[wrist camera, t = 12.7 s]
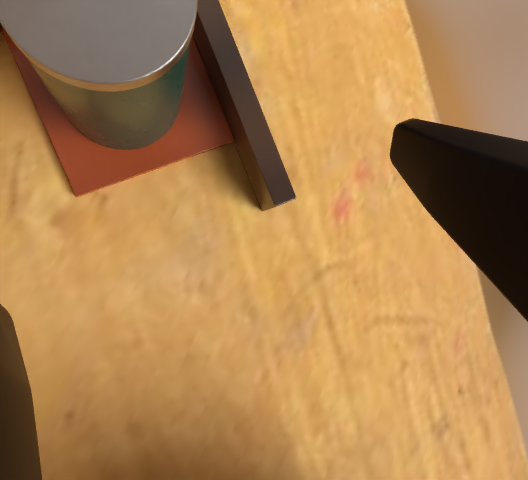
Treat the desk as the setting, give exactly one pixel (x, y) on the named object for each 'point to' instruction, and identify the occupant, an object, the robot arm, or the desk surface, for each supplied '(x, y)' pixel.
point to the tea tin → (108, 61)
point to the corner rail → (177, 120)
